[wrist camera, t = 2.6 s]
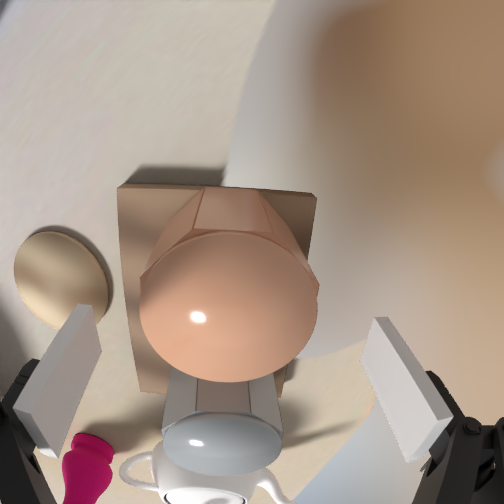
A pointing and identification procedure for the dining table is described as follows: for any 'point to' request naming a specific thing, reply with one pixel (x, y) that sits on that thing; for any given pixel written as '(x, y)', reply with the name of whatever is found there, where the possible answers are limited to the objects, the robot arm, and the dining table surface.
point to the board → (147, 235)
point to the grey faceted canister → (221, 424)
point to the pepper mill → (86, 469)
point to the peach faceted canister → (227, 289)
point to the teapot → (199, 482)
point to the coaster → (59, 278)
